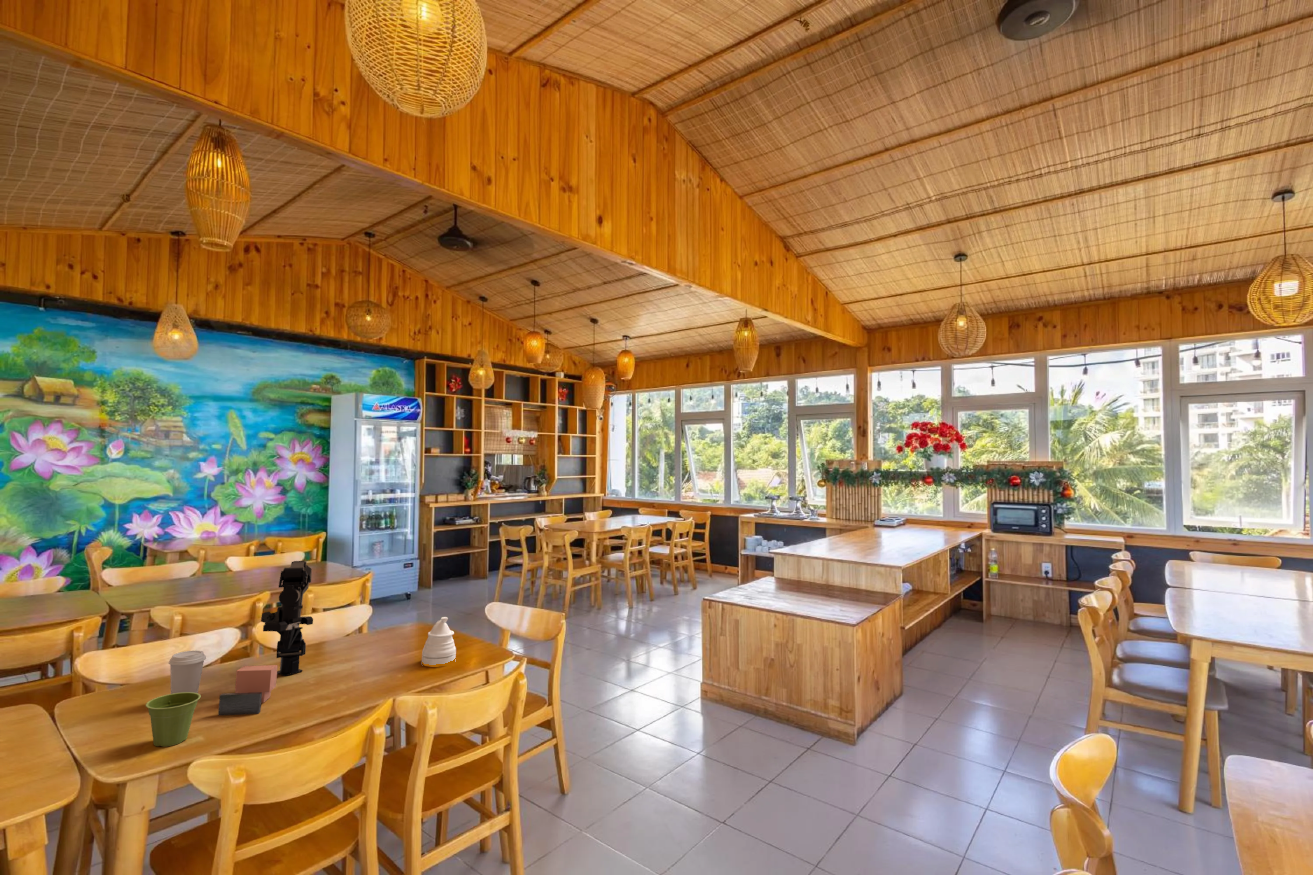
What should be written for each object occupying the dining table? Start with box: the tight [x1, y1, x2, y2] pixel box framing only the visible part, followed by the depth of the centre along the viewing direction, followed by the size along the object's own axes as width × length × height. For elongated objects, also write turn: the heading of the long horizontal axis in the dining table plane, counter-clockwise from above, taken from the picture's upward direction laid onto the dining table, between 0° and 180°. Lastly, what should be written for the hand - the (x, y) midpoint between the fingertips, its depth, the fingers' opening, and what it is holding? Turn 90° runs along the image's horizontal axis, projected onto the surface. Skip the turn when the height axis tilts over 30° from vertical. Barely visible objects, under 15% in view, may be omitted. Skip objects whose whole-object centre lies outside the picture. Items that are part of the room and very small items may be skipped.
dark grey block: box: [217, 692, 262, 716], centre depth 190 cm, size 14×11×6 cm
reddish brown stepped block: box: [234, 664, 278, 704], centre depth 194 cm, size 5×10×10 cm, turn 102°
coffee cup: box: [168, 650, 207, 694], centre depth 192 cm, size 10×10×15 cm
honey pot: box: [421, 616, 457, 665], centre depth 240 cm, size 13×13×18 cm
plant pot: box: [145, 692, 201, 748], centre depth 164 cm, size 12×12×11 cm
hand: (286, 649), depth 209 cm, fingers closed
